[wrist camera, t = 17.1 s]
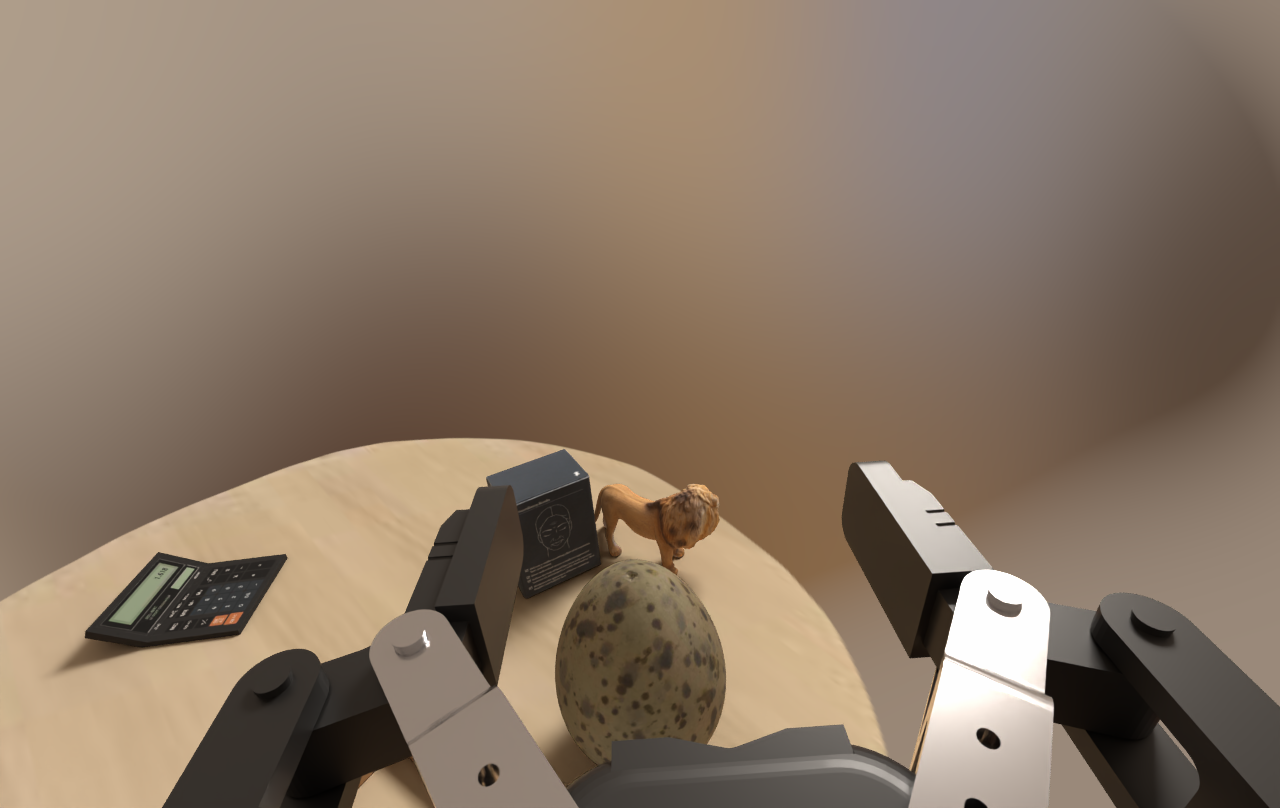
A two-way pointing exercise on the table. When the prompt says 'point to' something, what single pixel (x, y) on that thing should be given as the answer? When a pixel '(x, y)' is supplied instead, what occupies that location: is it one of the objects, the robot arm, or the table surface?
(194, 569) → the calculator
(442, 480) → the table surface
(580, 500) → the box
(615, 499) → the lion figurine
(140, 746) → the table surface
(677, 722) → the decorative egg
